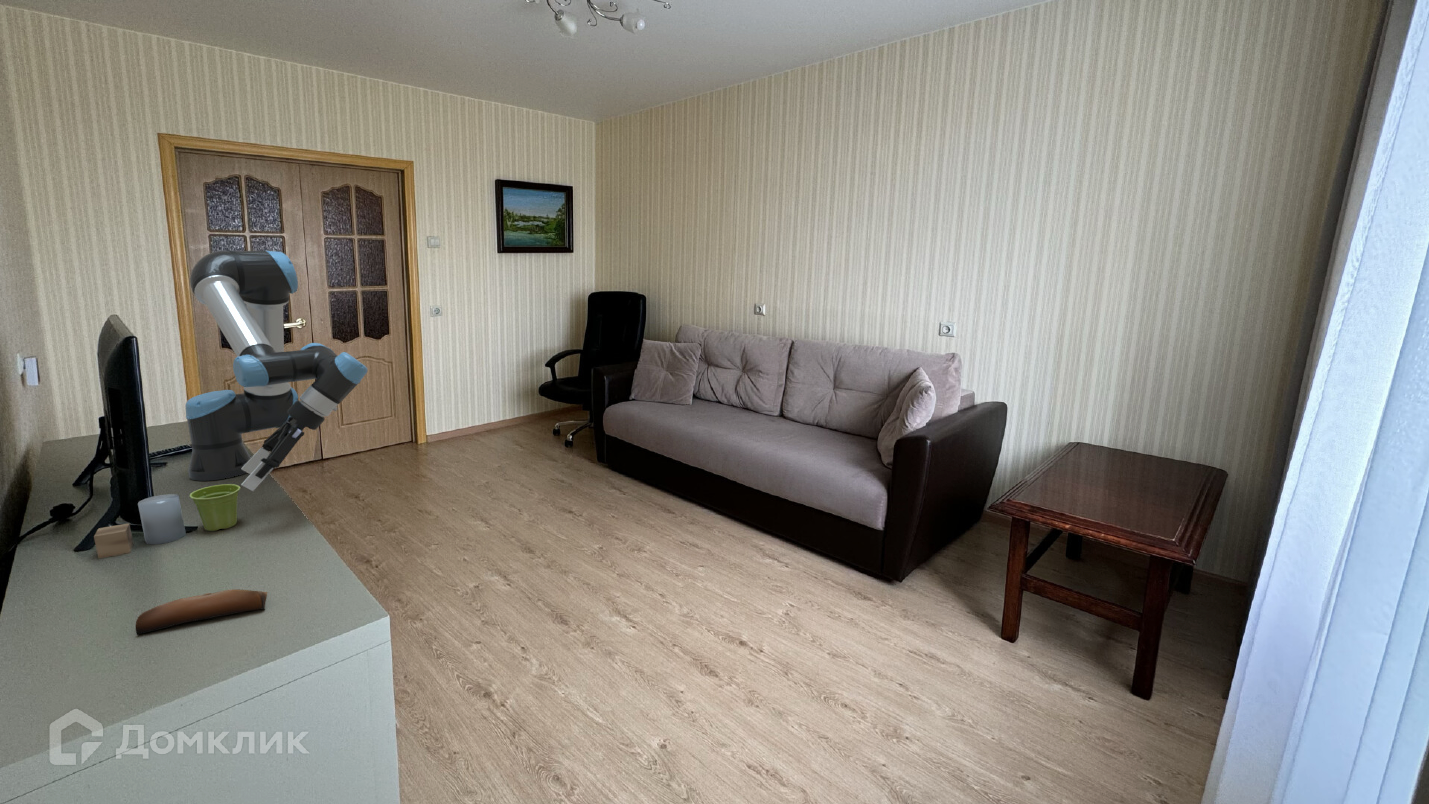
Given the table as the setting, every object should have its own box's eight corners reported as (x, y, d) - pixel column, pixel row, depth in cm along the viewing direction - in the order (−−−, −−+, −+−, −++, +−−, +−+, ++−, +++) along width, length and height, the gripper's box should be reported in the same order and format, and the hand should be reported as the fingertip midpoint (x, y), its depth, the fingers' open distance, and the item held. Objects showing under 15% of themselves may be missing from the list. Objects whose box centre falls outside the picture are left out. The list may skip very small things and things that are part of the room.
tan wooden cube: (103, 550, 141) (98, 528, 140) (133, 544, 144) (129, 523, 143) (98, 558, 137) (93, 536, 136) (130, 553, 140) (125, 531, 139)
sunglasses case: (270, 589, 125) (263, 569, 121) (269, 622, 121) (262, 602, 116) (149, 612, 117) (137, 592, 113) (143, 648, 112) (131, 628, 108)
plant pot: (255, 519, 158) (250, 484, 156) (223, 535, 149) (217, 499, 147) (219, 517, 159) (213, 483, 157) (185, 533, 150) (178, 497, 148)
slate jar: (147, 535, 149) (140, 498, 147) (186, 528, 152) (180, 492, 150) (143, 547, 143) (135, 508, 141) (184, 539, 147) (177, 501, 145)
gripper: (331, 428, 152) (263, 503, 146) (321, 408, 171) (260, 474, 166) (301, 409, 147) (230, 486, 142) (294, 390, 167) (231, 457, 162)
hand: (246, 479), depth 154 cm, fingers open, 13 cm apart
